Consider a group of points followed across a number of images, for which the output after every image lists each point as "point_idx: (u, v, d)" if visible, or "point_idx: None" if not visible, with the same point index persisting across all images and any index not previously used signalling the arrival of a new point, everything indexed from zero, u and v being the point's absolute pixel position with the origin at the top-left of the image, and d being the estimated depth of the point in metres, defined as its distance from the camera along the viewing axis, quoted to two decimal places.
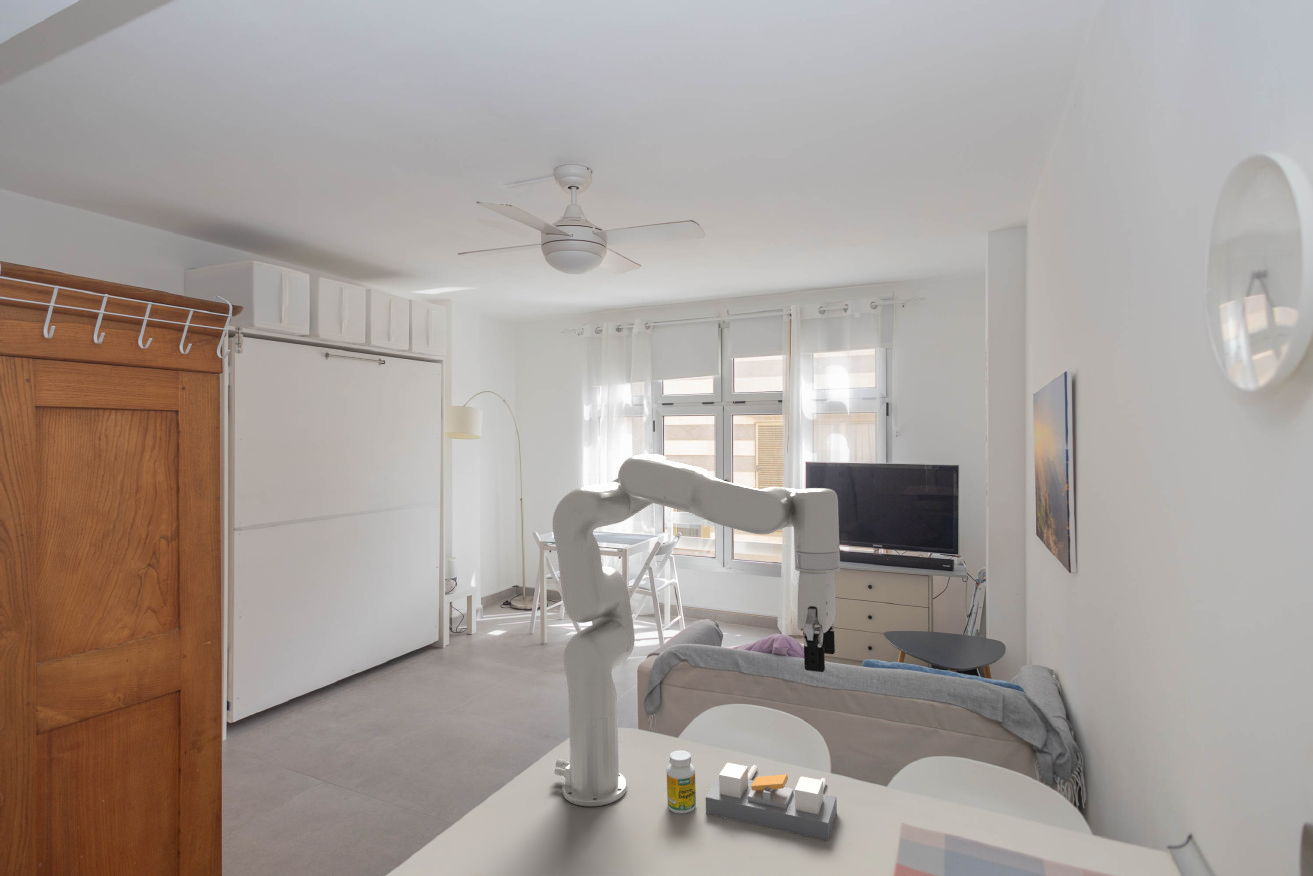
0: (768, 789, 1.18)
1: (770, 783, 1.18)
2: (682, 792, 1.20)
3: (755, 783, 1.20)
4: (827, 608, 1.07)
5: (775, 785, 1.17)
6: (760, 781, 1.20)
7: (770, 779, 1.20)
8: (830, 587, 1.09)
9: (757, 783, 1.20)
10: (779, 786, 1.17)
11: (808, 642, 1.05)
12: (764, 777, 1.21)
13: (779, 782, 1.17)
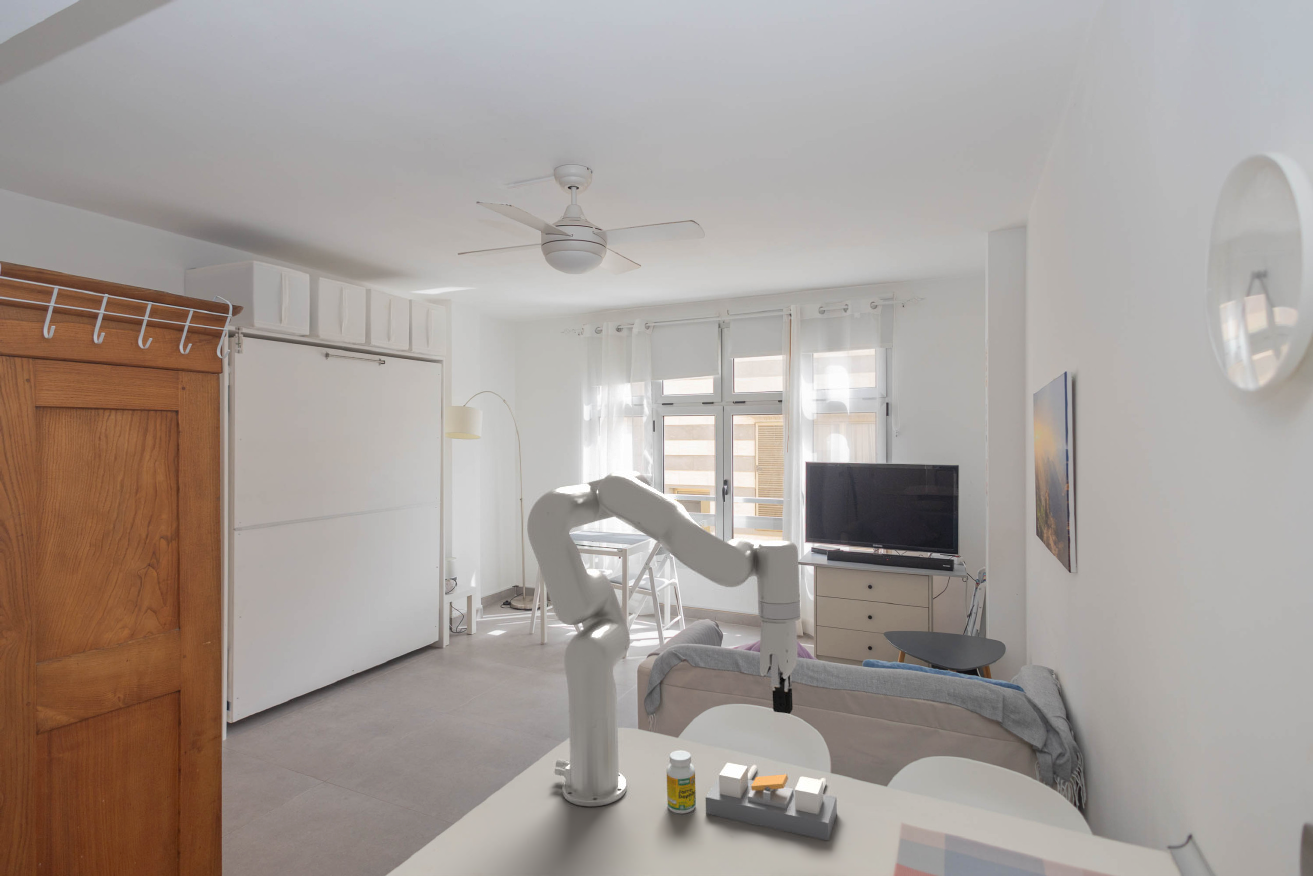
0: (768, 789, 1.18)
1: (770, 783, 1.18)
2: (682, 792, 1.20)
3: (755, 783, 1.20)
4: (788, 655, 1.14)
5: (775, 785, 1.17)
6: (760, 781, 1.20)
7: (770, 779, 1.20)
8: (791, 635, 1.16)
9: (757, 783, 1.20)
10: (779, 786, 1.17)
11: (776, 687, 1.17)
12: (764, 777, 1.21)
13: (779, 782, 1.17)
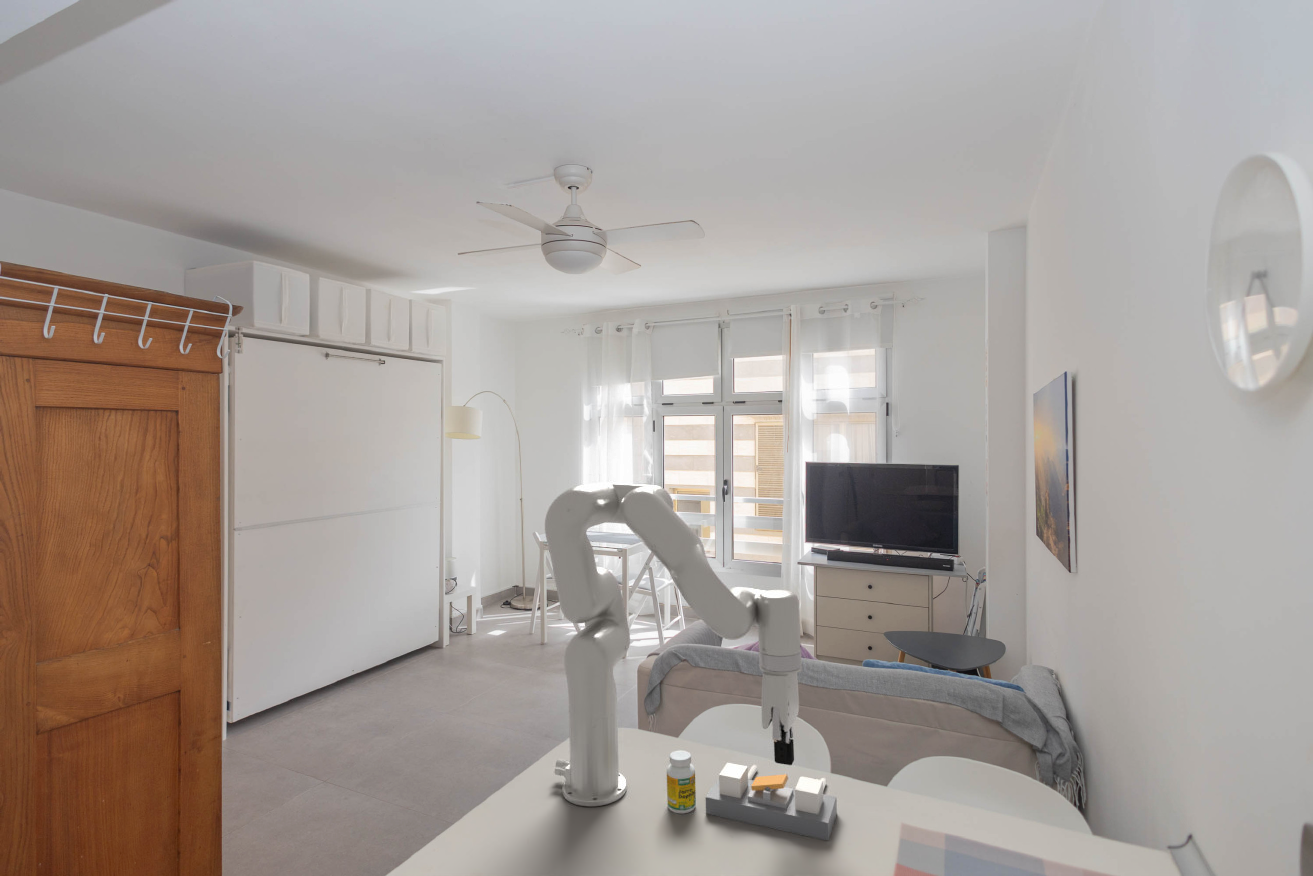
0: (768, 789, 1.18)
1: (770, 783, 1.18)
2: (682, 792, 1.20)
3: (755, 783, 1.20)
4: (789, 708, 1.14)
5: (775, 785, 1.17)
6: (760, 781, 1.20)
7: (770, 779, 1.20)
8: (792, 687, 1.16)
9: (757, 783, 1.20)
10: (779, 786, 1.17)
11: None
12: (764, 777, 1.21)
13: (779, 782, 1.17)
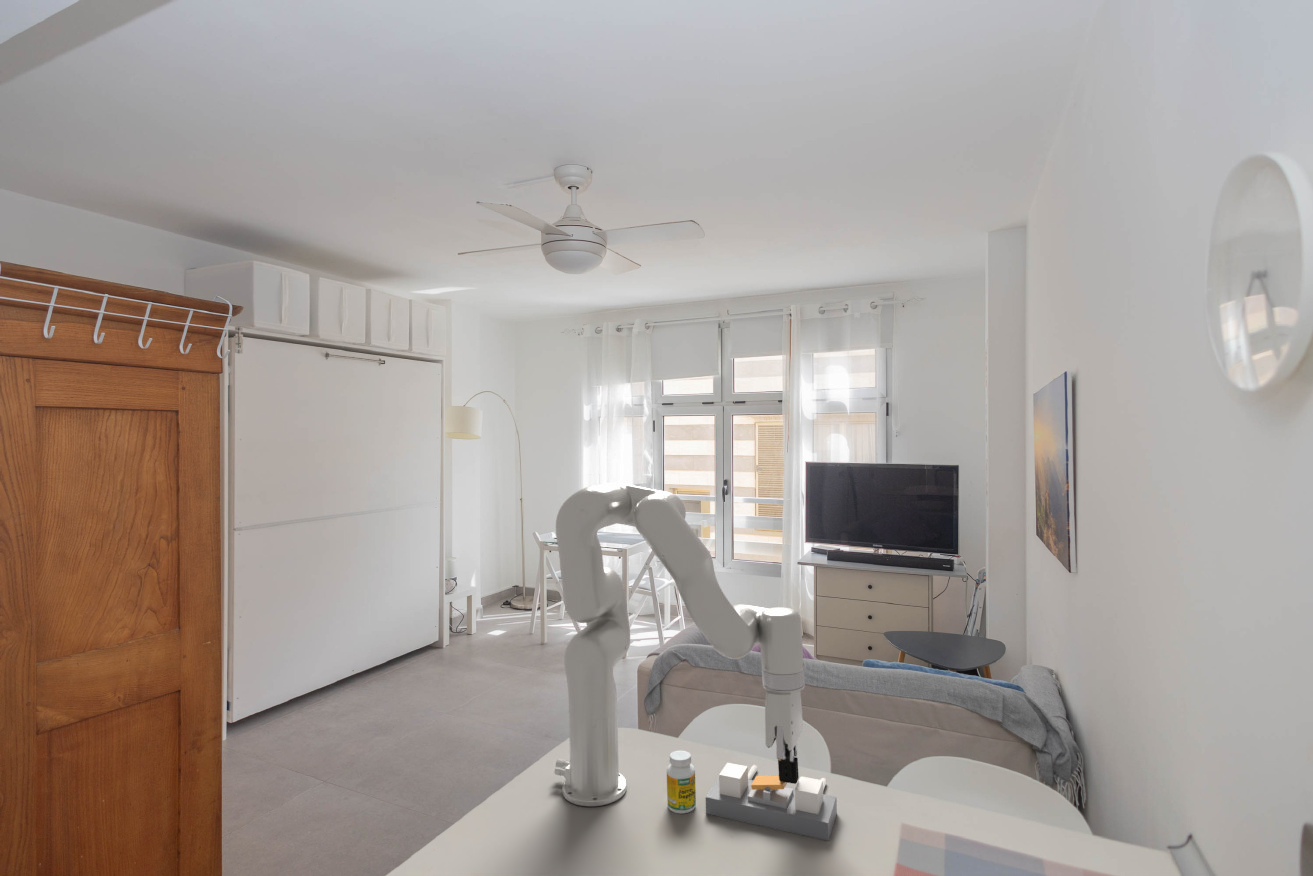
0: (768, 789, 1.17)
1: (770, 783, 1.18)
2: (682, 792, 1.20)
3: (755, 782, 1.20)
4: (793, 727, 1.14)
5: (775, 786, 1.17)
6: (760, 780, 1.20)
7: (770, 779, 1.20)
8: (795, 705, 1.16)
9: (757, 782, 1.20)
10: (779, 787, 1.17)
11: None
12: (764, 777, 1.21)
13: (779, 783, 1.17)
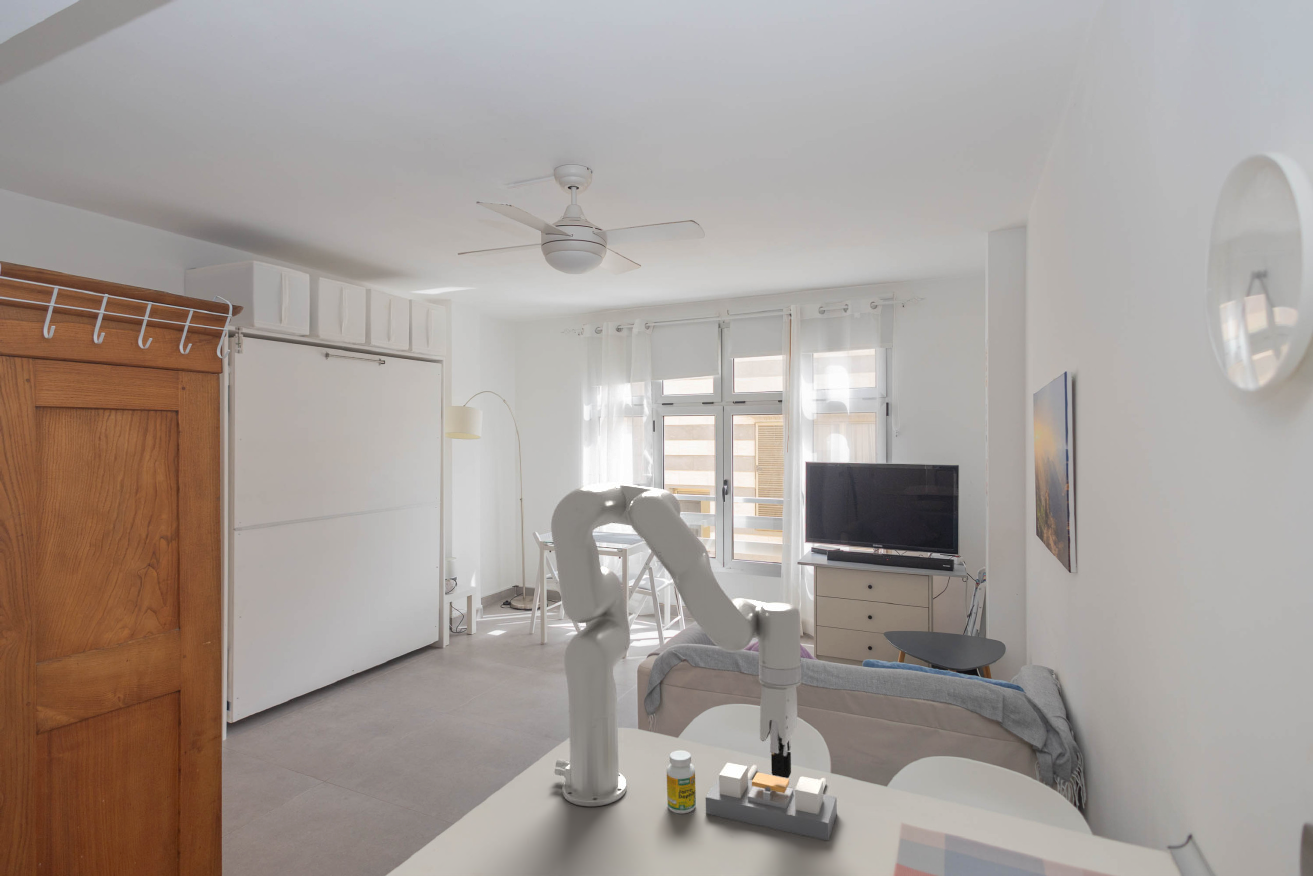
0: (769, 789, 1.17)
1: (772, 784, 1.18)
2: (682, 792, 1.20)
3: (756, 779, 1.20)
4: (787, 722, 1.14)
5: (777, 788, 1.17)
6: (761, 779, 1.20)
7: (772, 779, 1.19)
8: (791, 700, 1.16)
9: (758, 780, 1.19)
10: (780, 790, 1.17)
11: None
12: (765, 775, 1.21)
13: (781, 786, 1.17)
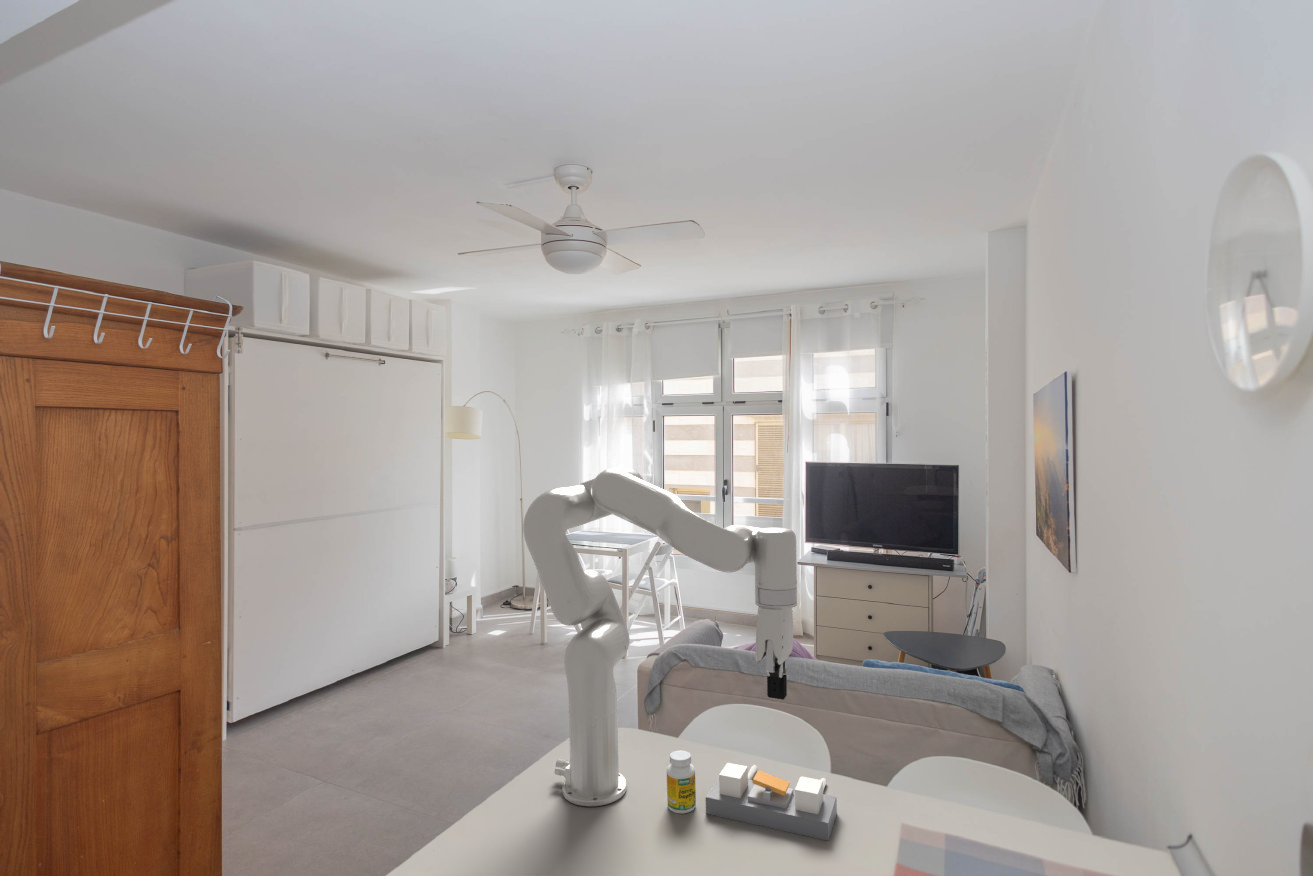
0: (769, 790, 1.17)
1: (773, 785, 1.18)
2: (682, 792, 1.20)
3: (757, 777, 1.19)
4: (783, 642, 1.15)
5: (777, 790, 1.17)
6: (762, 777, 1.20)
7: (773, 780, 1.19)
8: (787, 622, 1.17)
9: (759, 778, 1.19)
10: (781, 792, 1.17)
11: (770, 672, 1.17)
12: (766, 774, 1.21)
13: (781, 788, 1.17)
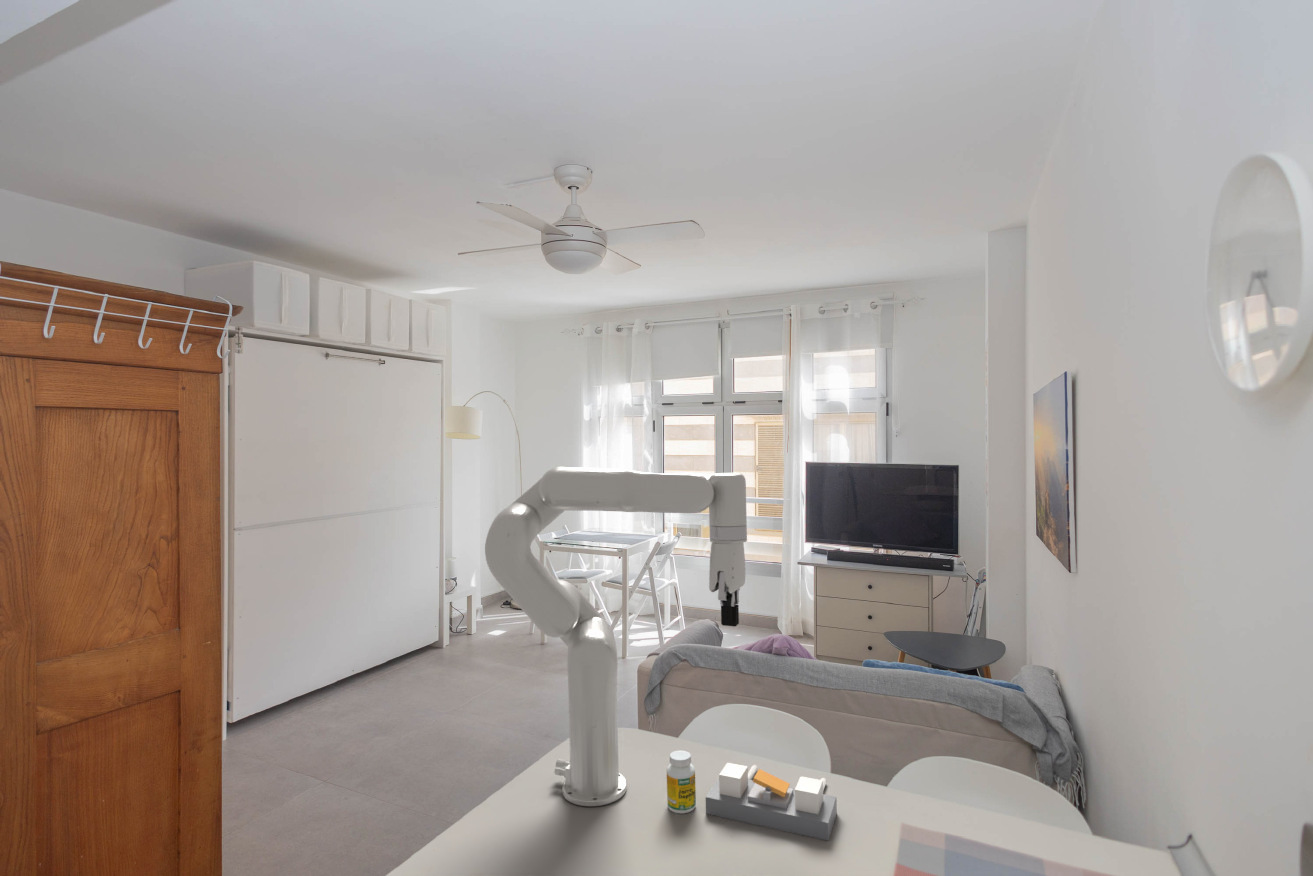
0: (769, 790, 1.17)
1: (773, 786, 1.18)
2: (682, 792, 1.20)
3: (758, 777, 1.19)
4: (733, 573, 1.28)
5: (777, 790, 1.17)
6: (763, 777, 1.20)
7: (773, 780, 1.19)
8: (737, 555, 1.30)
9: (760, 777, 1.19)
10: (781, 793, 1.17)
11: (723, 602, 1.30)
12: (767, 774, 1.21)
13: (782, 790, 1.17)
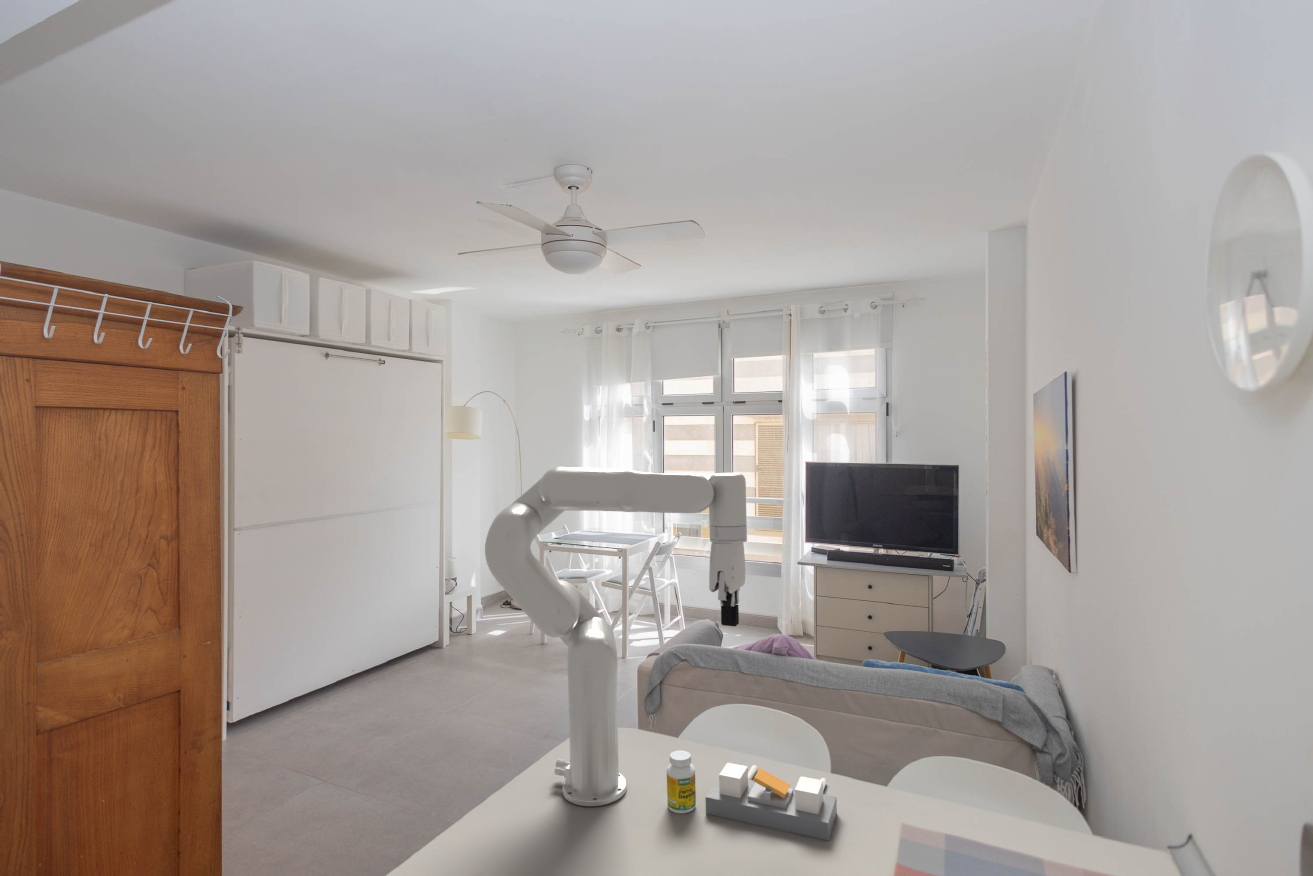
0: (769, 790, 1.17)
1: (773, 786, 1.18)
2: (683, 792, 1.20)
3: (758, 776, 1.19)
4: (733, 572, 1.28)
5: (778, 791, 1.17)
6: (763, 777, 1.20)
7: (773, 781, 1.19)
8: (737, 555, 1.30)
9: (760, 777, 1.19)
10: (781, 794, 1.17)
11: (723, 602, 1.30)
12: (767, 774, 1.21)
13: (782, 791, 1.17)
